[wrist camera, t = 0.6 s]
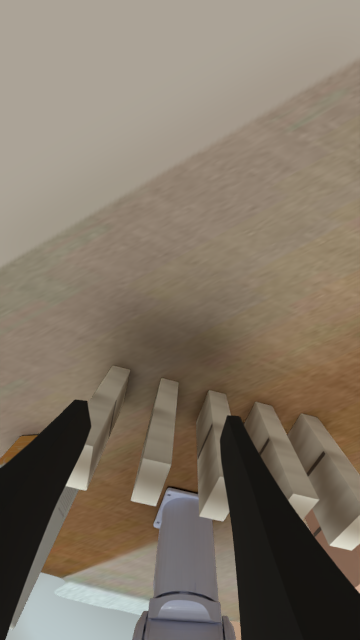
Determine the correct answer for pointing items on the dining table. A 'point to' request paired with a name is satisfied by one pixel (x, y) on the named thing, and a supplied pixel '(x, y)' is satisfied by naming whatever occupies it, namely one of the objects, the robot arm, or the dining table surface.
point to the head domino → (338, 552)
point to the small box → (50, 533)
